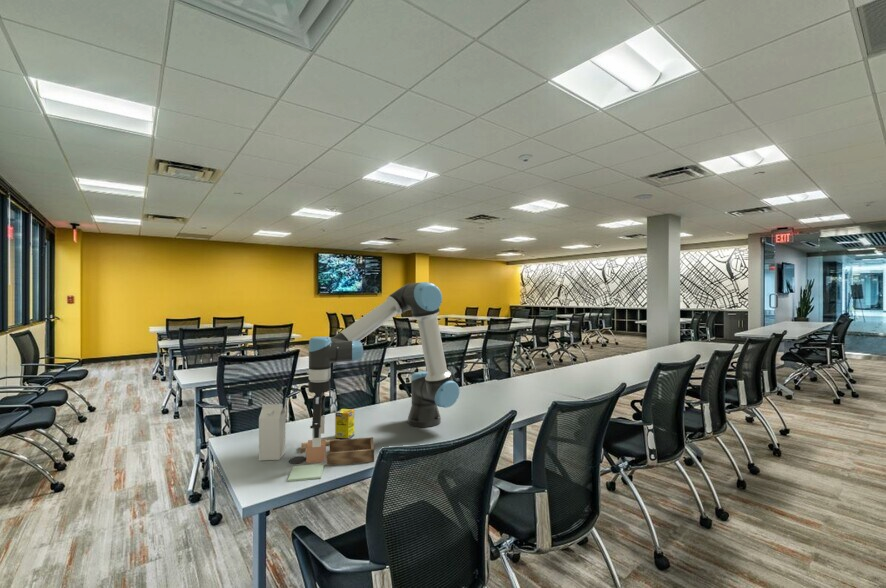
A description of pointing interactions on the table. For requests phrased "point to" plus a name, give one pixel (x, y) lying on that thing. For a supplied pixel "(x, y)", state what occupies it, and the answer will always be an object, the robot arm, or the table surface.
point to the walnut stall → (346, 453)
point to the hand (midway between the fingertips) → (318, 439)
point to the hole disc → (297, 460)
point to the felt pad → (306, 472)
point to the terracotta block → (315, 452)
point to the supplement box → (344, 424)
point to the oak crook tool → (303, 445)
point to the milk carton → (271, 432)
